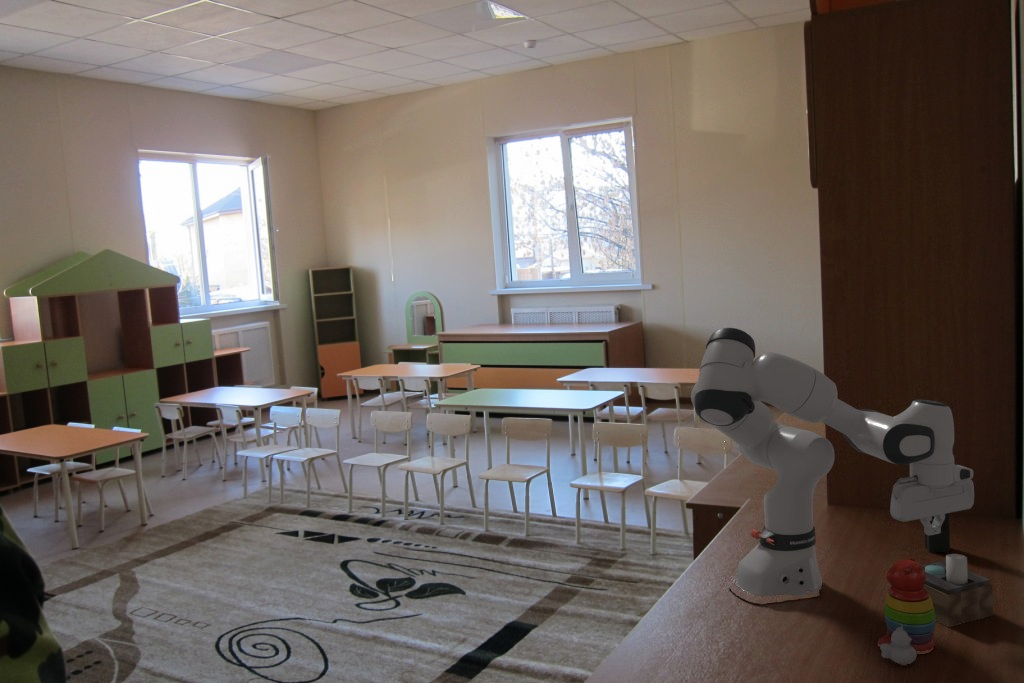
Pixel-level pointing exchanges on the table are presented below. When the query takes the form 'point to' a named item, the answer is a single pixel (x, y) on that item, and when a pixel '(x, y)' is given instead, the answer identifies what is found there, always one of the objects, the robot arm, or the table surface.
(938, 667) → the table surface
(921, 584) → the stacking bear
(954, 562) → the grey peg
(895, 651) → the rubber duck
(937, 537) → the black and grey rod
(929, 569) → the teal peg
